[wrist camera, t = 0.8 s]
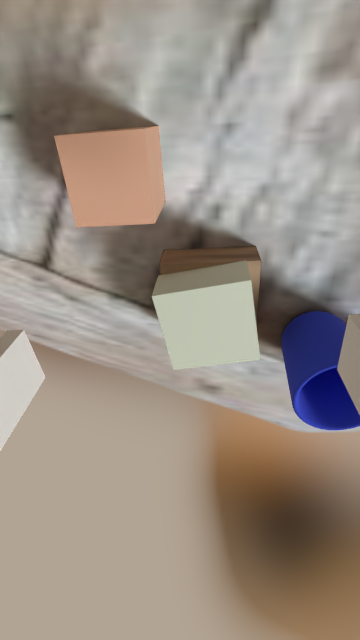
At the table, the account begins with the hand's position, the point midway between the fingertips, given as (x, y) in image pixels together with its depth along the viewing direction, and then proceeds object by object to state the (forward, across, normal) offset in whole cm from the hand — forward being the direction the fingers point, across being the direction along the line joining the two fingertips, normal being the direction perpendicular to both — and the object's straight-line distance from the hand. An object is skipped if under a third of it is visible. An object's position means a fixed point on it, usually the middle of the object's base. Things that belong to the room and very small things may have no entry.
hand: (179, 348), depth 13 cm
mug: (+20, +14, -14) cm, 28 cm away
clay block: (+20, -6, +5) cm, 21 cm away
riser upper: (+16, +1, -8) cm, 18 cm away
